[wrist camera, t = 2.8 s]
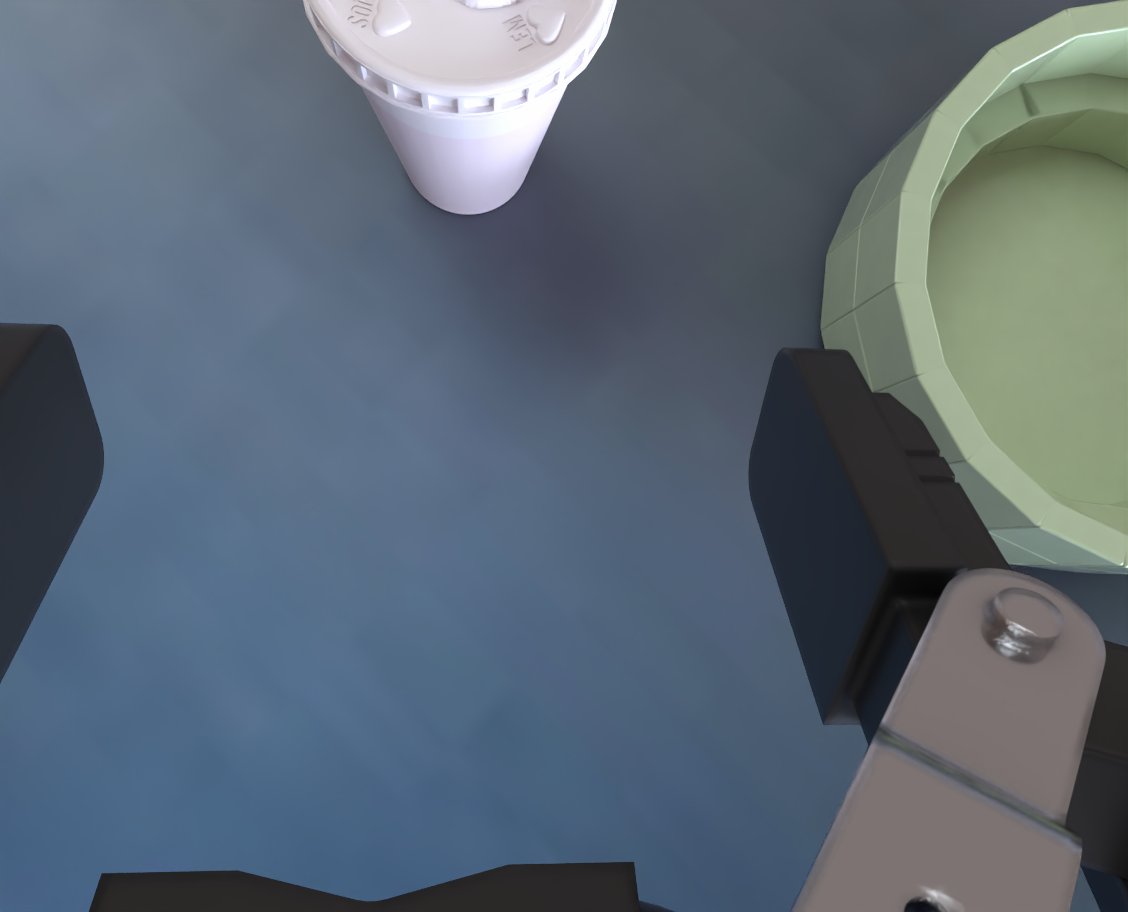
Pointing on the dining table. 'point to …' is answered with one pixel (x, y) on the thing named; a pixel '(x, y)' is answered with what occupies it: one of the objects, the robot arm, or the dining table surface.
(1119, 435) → the bowl
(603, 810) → the dining table surface
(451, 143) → the smoothie
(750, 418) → the dining table surface
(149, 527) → the dining table surface
